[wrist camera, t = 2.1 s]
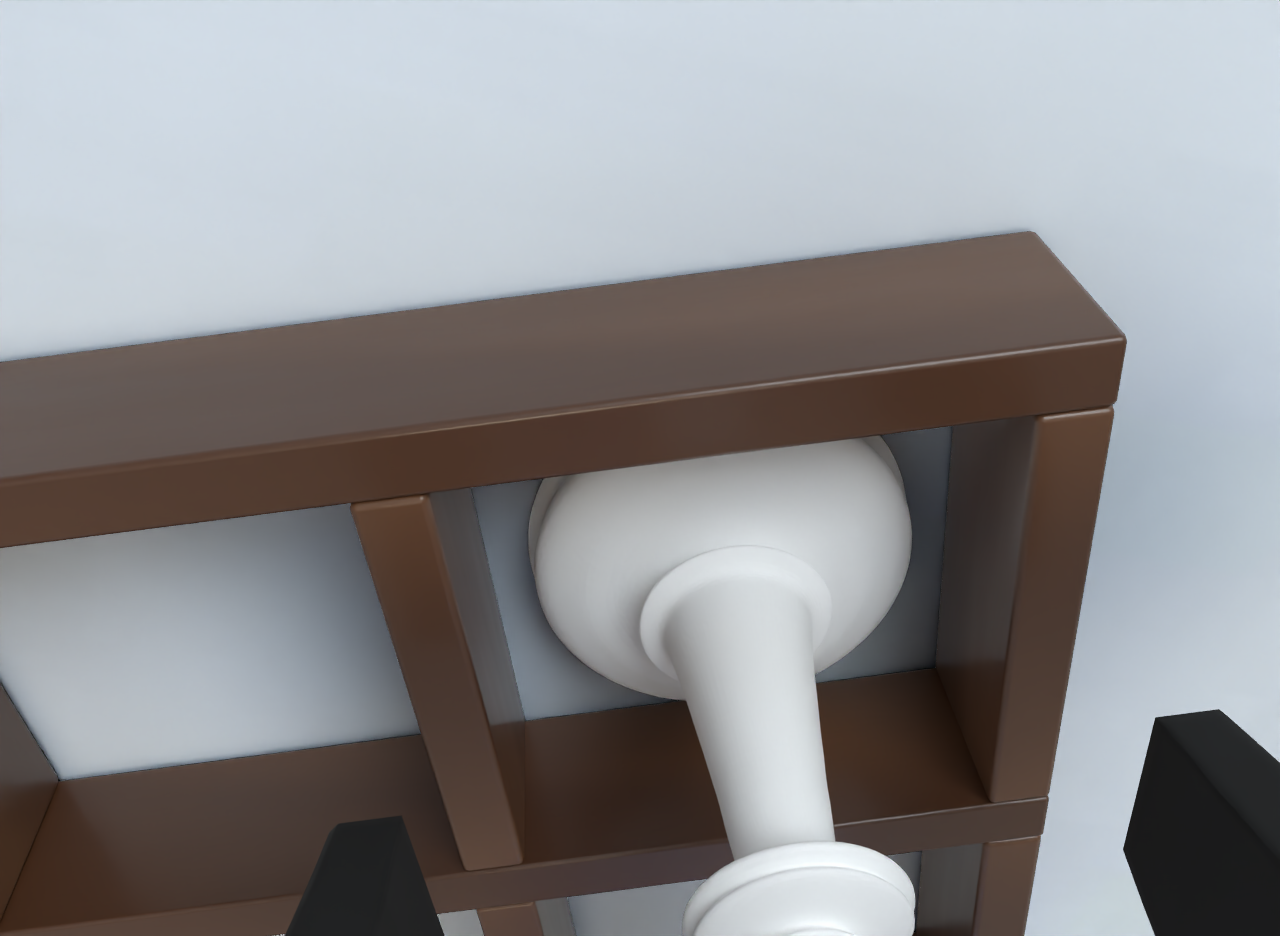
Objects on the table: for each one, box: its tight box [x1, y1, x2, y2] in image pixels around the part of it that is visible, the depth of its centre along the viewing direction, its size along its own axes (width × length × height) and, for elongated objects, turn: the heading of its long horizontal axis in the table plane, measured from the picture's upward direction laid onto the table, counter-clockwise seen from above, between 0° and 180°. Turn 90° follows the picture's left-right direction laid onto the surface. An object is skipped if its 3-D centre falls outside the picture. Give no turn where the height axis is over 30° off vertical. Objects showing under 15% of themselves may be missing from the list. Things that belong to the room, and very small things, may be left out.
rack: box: [0, 231, 1127, 936], centre depth 16 cm, size 14×14×2 cm
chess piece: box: [528, 435, 915, 936], centre depth 11 cm, size 5×5×10 cm
